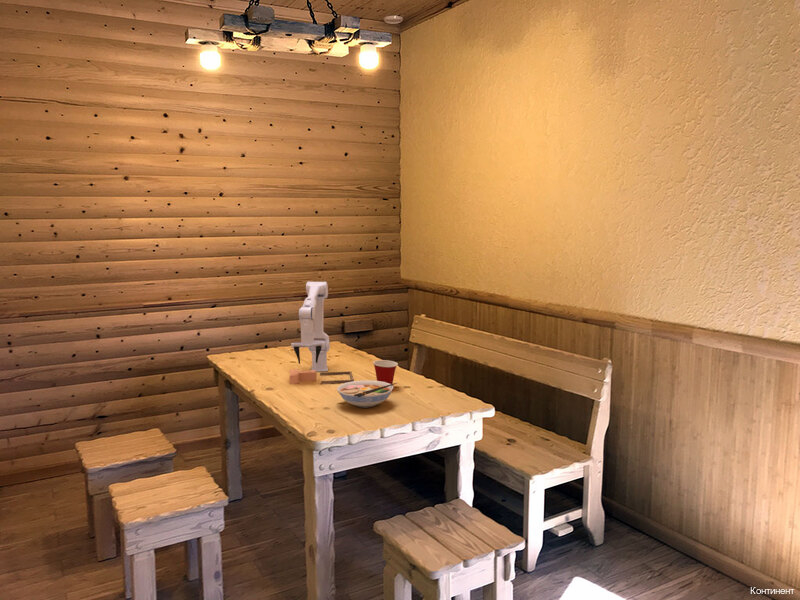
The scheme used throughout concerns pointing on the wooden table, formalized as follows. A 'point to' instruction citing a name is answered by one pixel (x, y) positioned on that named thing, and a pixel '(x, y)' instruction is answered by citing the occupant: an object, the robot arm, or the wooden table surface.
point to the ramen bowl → (365, 392)
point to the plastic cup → (385, 370)
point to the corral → (337, 380)
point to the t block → (301, 376)
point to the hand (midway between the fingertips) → (308, 362)
